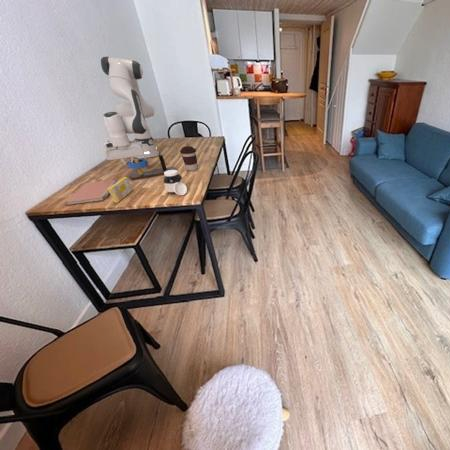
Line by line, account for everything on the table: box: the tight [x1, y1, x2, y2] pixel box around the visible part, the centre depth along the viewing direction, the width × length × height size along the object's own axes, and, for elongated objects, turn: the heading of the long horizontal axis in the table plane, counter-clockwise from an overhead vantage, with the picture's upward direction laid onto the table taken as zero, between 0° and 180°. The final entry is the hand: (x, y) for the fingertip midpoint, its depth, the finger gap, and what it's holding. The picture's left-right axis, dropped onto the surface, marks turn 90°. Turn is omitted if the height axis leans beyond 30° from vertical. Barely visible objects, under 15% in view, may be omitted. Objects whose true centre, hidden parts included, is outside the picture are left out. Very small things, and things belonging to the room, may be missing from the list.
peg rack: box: [130, 154, 176, 181], centre depth 162 cm, size 26×10×12 cm, turn 122°
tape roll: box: [126, 158, 149, 170], centre depth 157 cm, size 11×11×3 cm
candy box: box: [108, 176, 134, 204], centre depth 133 cm, size 16×2×8 cm, turn 5°
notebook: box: [65, 179, 118, 206], centre depth 139 cm, size 27×17×2 cm, turn 19°
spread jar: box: [163, 169, 188, 196], centre depth 136 cm, size 12×11×12 cm
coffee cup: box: [179, 145, 199, 172], centre depth 169 cm, size 10×10×15 cm
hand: (129, 164), depth 155 cm, fingers closed on tape roll, 2 cm apart
